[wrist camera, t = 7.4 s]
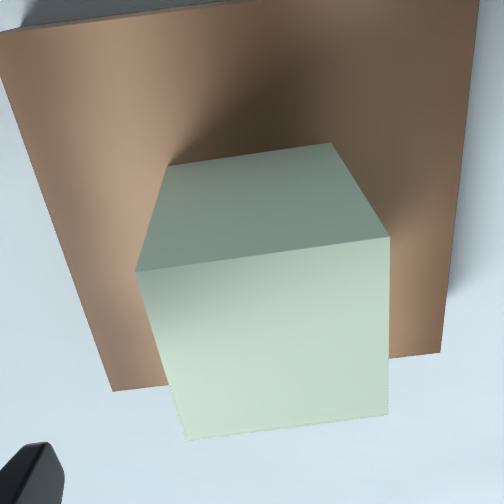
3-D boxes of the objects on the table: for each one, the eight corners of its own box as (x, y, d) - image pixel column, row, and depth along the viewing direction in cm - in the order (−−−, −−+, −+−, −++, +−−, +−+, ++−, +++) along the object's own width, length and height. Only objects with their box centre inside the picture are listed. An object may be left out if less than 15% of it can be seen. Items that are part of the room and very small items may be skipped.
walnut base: (126, 341, 22) (112, 391, 19) (26, 25, 15) (-14, 35, 13) (414, 307, 22) (440, 352, 19) (437, -28, 15) (482, -28, 12)
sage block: (198, 299, 17) (186, 441, 12) (166, 166, 15) (133, 272, 9) (338, 279, 17) (388, 415, 12) (330, 142, 14) (389, 236, 9)
